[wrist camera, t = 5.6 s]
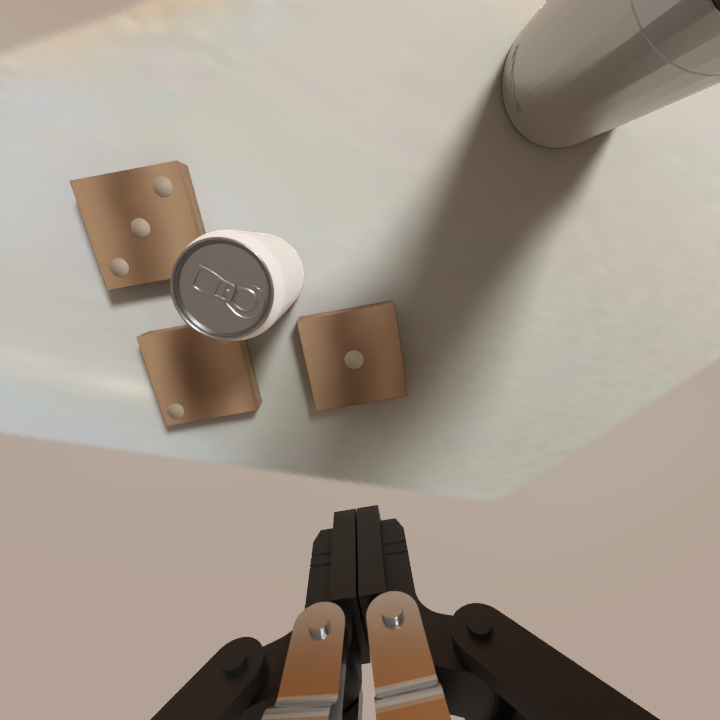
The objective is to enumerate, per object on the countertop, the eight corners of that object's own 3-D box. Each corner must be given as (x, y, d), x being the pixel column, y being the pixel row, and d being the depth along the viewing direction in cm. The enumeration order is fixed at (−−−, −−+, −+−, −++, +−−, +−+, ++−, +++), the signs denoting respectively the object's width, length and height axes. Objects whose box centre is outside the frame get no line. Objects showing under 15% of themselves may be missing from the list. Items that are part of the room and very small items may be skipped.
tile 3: (187, 165, 31) (176, 160, 29) (215, 270, 33) (206, 272, 31) (86, 184, 31) (68, 180, 29) (121, 287, 33) (107, 290, 32)
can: (285, 325, 35) (254, 366, 23) (214, 291, 34) (145, 317, 22) (317, 256, 33) (301, 263, 22) (244, 218, 32) (185, 205, 21)
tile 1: (391, 300, 34) (394, 304, 32) (404, 387, 37) (408, 396, 35) (299, 316, 35) (296, 321, 33) (318, 402, 37) (316, 411, 35)
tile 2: (239, 315, 34) (232, 320, 32) (261, 401, 37) (256, 410, 35) (148, 331, 35) (136, 337, 33) (176, 416, 37) (166, 426, 35)
